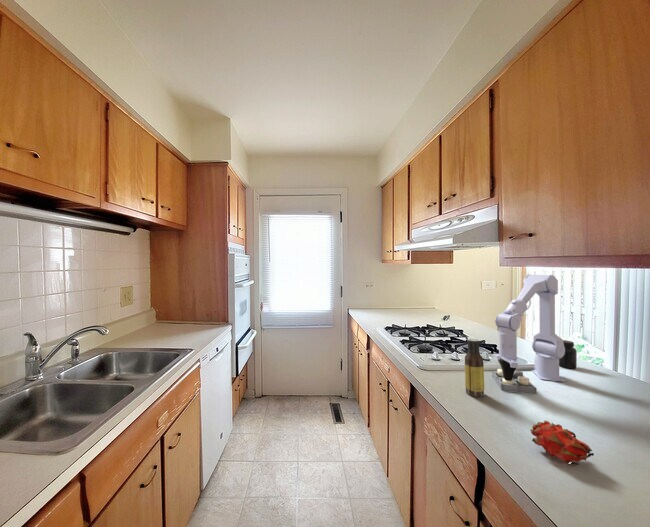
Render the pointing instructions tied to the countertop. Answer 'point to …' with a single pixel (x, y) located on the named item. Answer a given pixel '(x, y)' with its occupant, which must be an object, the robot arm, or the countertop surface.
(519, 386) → the button board
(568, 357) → the supplement bottle
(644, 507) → the countertop surface
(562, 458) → the dragon fruit
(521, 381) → the button front left
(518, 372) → the button back left charcoal
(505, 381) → the button front right
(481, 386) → the sauce bottle
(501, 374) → the button back right
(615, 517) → the countertop surface
